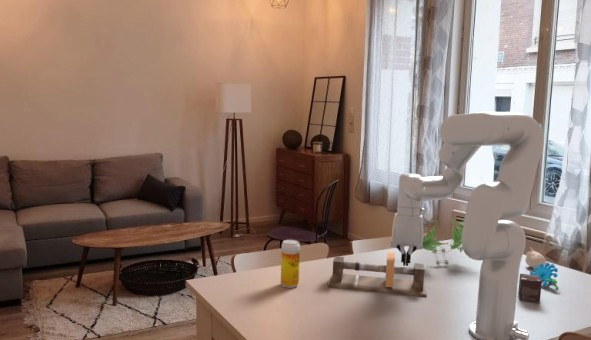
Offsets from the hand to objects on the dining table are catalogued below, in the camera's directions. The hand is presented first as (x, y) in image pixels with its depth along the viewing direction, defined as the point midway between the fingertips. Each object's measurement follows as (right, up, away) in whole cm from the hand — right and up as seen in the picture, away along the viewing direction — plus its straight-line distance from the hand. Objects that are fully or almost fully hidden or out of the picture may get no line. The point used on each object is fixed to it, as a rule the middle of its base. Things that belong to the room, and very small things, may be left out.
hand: (405, 264), depth 167 cm
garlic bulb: (+56, -7, +26) cm, 62 cm away
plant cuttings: (+18, -5, +30) cm, 35 cm away
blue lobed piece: (+50, -9, +8) cm, 52 cm away
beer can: (-39, -7, +1) cm, 39 cm away
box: (+39, -10, -5) cm, 41 cm away
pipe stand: (-9, -8, +3) cm, 12 cm away
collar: (-5, -6, +2) cm, 8 cm away
